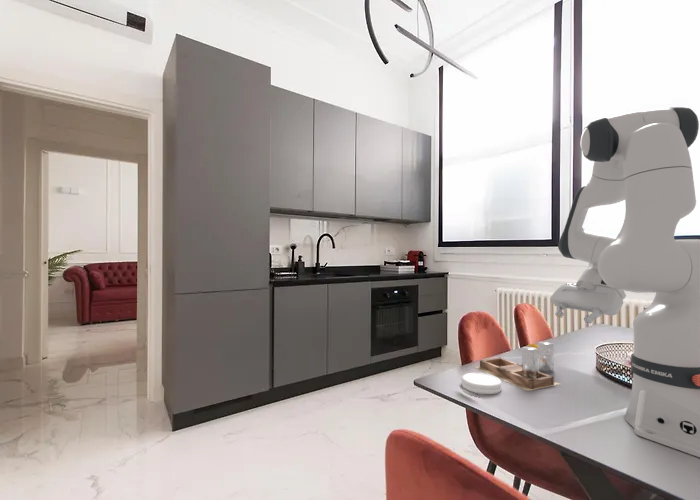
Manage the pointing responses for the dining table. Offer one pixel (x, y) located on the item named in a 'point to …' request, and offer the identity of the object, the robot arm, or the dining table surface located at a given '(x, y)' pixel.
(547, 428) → the dining table surface
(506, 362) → the wooden compartment tray
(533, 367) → the seated billet
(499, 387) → the coaster
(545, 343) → the glass pepper shaker
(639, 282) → the robot arm
